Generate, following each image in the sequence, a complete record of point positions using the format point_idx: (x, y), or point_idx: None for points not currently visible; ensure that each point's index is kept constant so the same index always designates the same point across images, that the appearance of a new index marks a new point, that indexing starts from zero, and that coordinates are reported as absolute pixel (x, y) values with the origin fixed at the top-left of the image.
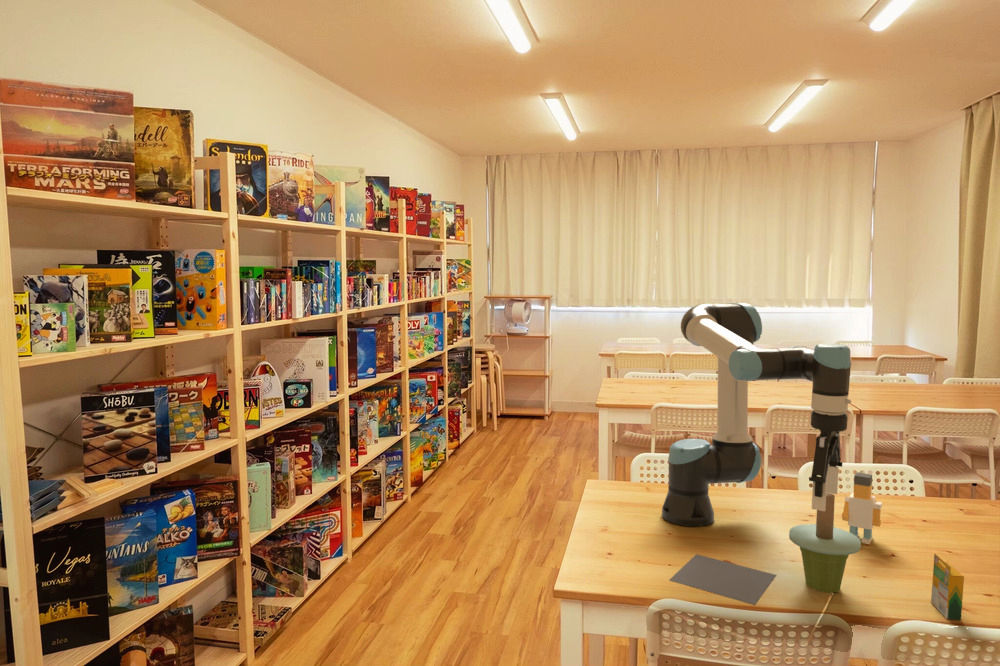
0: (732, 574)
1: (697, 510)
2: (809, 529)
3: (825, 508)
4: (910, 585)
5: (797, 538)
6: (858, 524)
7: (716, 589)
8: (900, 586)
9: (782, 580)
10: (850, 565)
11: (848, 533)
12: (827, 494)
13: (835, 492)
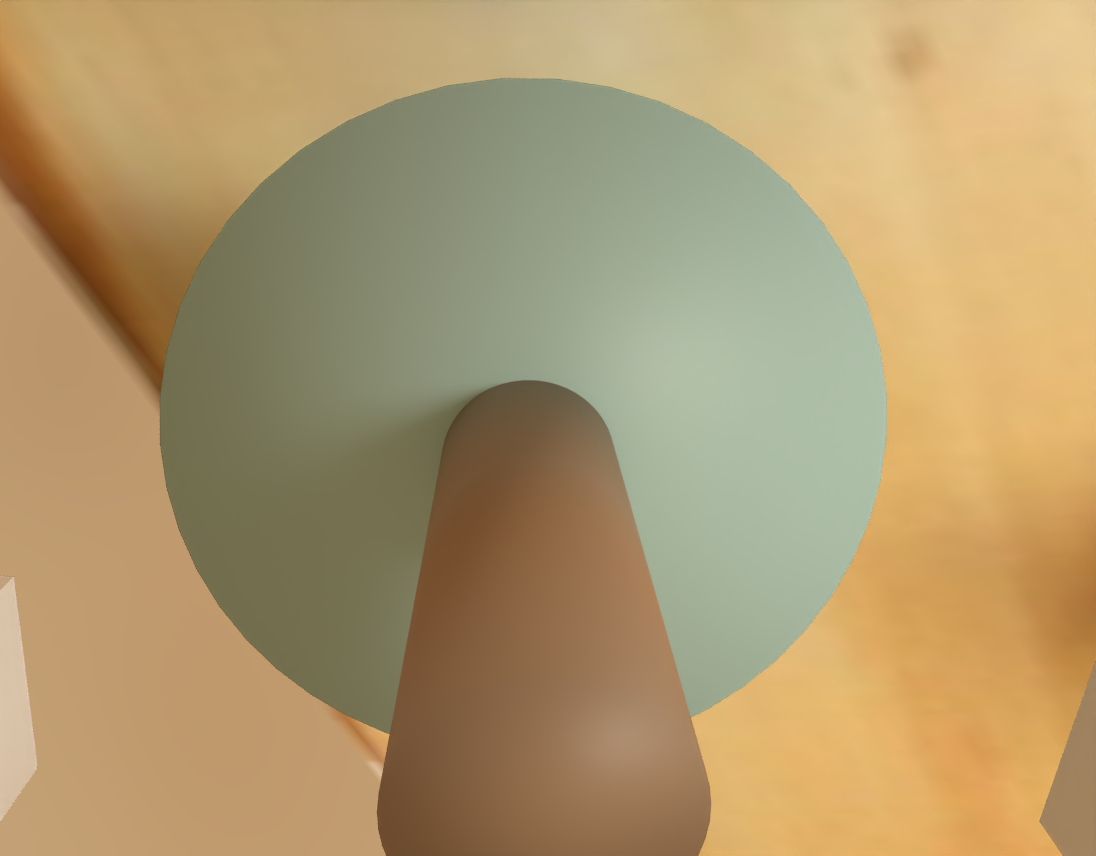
0: None
1: None
2: (668, 295)
3: (13, 795)
4: (821, 746)
5: (289, 209)
6: None
7: None
8: (781, 706)
9: (485, 41)
10: (987, 446)
11: (744, 649)
12: (591, 833)
13: (1059, 828)
